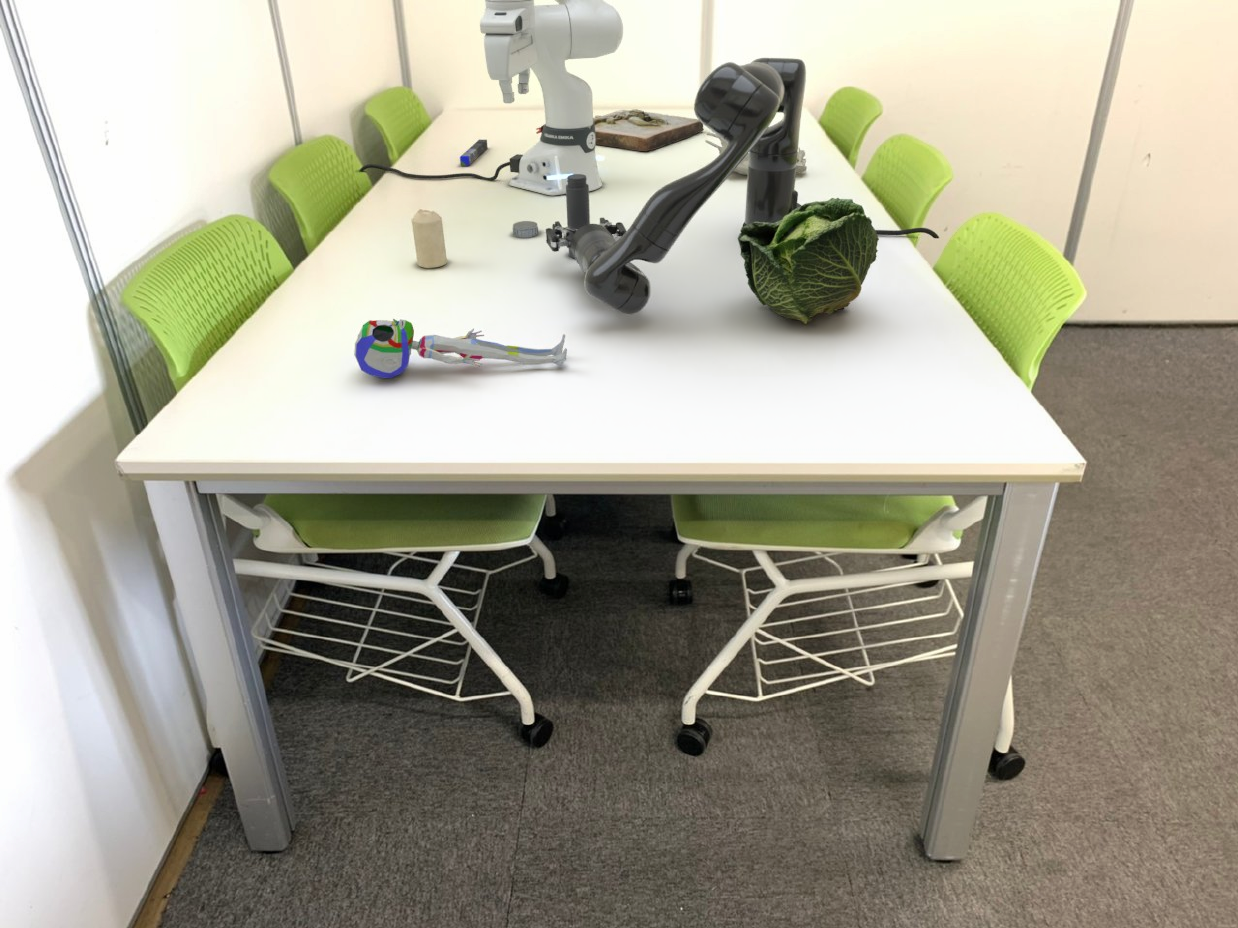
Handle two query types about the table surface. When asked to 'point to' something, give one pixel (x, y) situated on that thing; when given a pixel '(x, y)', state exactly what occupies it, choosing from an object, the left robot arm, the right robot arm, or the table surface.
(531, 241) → the table surface
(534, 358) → the toy
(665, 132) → the plaque
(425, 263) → the candle
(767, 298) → the vegetable
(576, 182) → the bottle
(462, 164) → the blue-capped grey bar
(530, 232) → the lid
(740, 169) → the anatomical model
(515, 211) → the table surface
